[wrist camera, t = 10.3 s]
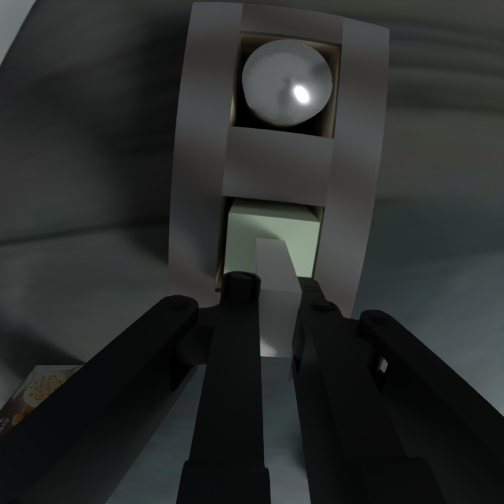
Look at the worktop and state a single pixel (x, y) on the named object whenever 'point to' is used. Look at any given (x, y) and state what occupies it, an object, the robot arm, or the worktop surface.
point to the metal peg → (285, 84)
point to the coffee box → (33, 393)
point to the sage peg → (270, 233)
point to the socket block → (275, 145)
